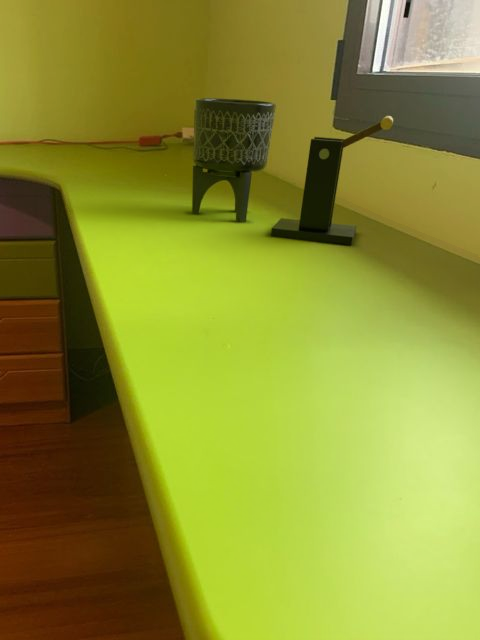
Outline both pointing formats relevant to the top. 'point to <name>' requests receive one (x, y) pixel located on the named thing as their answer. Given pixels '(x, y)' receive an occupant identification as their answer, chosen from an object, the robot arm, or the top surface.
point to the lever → (369, 131)
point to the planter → (230, 146)
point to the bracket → (319, 198)
